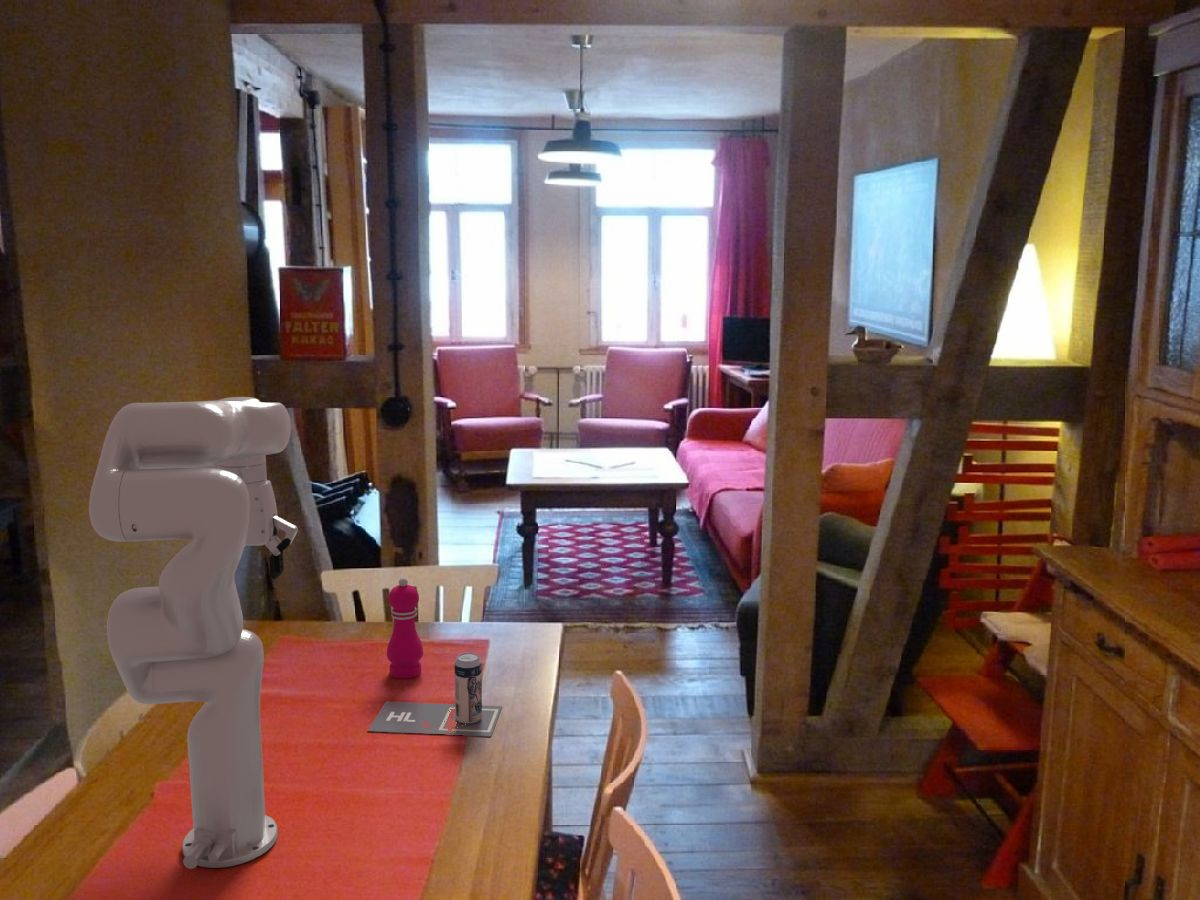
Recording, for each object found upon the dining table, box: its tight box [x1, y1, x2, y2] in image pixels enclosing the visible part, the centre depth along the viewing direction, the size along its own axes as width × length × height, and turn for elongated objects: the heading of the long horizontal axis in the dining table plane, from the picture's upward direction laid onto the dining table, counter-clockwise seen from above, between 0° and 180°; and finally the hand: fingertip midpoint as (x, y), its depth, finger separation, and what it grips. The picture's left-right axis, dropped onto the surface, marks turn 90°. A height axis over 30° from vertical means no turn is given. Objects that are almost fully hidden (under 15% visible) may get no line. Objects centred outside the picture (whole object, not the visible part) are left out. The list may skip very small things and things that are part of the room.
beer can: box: [454, 652, 483, 724], centre depth 176 cm, size 5×5×12 cm
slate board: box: [366, 701, 503, 738], centre depth 178 cm, size 12×22×1 cm, turn 86°
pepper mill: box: [386, 577, 424, 680], centre depth 196 cm, size 7×7×20 cm
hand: (247, 575), depth 161 cm, fingers open, 9 cm apart
